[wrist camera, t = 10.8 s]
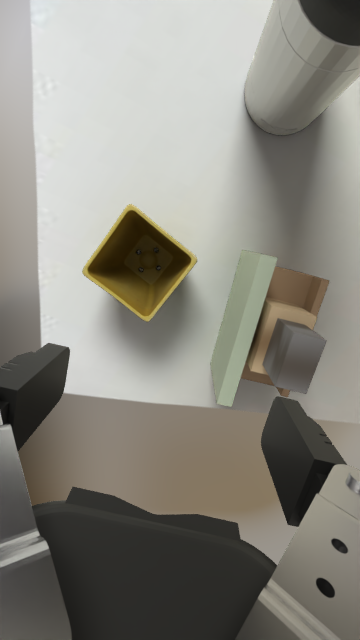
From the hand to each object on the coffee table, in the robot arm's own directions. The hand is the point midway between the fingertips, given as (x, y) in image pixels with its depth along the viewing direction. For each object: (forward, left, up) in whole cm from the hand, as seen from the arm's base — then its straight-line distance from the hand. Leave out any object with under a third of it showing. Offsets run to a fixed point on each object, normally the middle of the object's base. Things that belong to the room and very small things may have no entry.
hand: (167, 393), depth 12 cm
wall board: (+2, +10, -30) cm, 32 cm away
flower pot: (-2, -5, -30) cm, 31 cm away
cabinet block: (+2, +11, -25) cm, 27 cm away
